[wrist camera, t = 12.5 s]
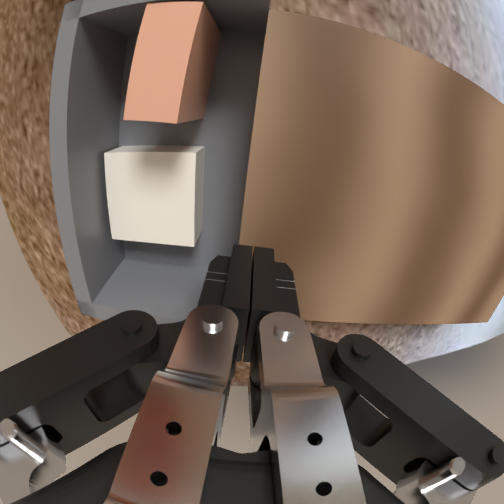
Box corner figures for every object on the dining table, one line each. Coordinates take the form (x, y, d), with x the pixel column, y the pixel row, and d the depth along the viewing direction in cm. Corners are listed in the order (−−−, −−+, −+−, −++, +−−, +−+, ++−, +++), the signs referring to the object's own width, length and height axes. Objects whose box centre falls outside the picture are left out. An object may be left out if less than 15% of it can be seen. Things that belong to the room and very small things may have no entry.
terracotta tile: (203, 1, 6) (147, 3, 6) (176, 123, 8) (123, 119, 8) (221, 33, 10) (181, 31, 10) (203, 118, 12) (165, 114, 12)
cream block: (104, 153, 11) (122, 145, 12) (112, 239, 13) (127, 223, 15) (196, 152, 11) (205, 146, 13) (194, 246, 13) (202, 229, 15)
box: (269, 19, 10) (273, -23, 5) (236, 281, 17) (228, 342, 13) (118, 24, 9) (65, 4, 5) (116, 264, 17) (81, 314, 12)
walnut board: (515, 136, 11) (553, 151, 7) (463, 289, 17) (487, 322, 14) (266, 36, 10) (269, 9, 7) (237, 267, 16) (231, 312, 13)
